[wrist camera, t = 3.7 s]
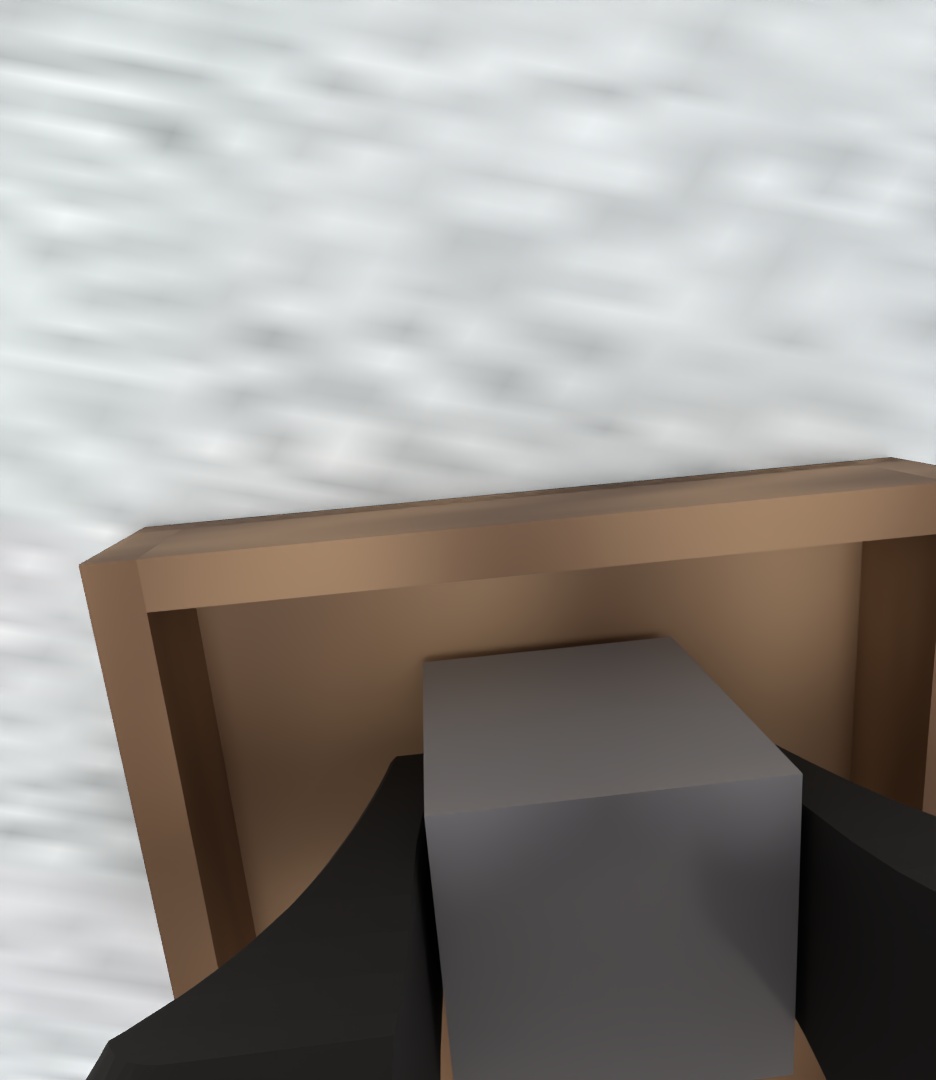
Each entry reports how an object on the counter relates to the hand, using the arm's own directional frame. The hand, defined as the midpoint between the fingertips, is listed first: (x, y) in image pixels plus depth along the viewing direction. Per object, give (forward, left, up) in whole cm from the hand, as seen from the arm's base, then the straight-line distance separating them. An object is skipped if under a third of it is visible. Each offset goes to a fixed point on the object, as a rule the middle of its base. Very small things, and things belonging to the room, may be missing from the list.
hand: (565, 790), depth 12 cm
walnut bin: (0, +3, -2) cm, 4 cm away
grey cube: (0, 0, -1) cm, 1 cm away
